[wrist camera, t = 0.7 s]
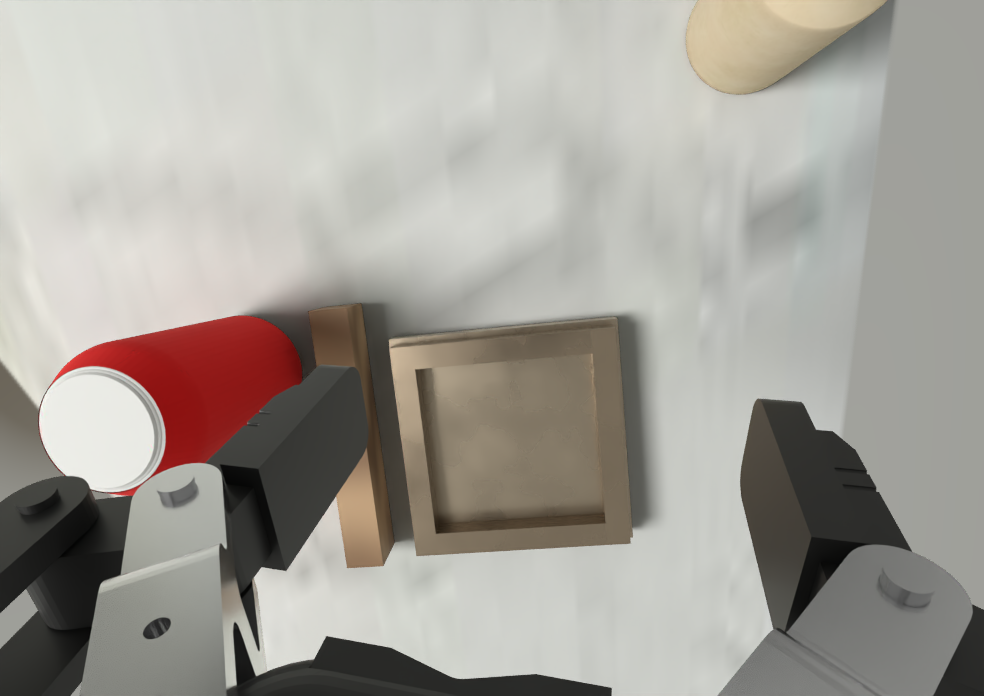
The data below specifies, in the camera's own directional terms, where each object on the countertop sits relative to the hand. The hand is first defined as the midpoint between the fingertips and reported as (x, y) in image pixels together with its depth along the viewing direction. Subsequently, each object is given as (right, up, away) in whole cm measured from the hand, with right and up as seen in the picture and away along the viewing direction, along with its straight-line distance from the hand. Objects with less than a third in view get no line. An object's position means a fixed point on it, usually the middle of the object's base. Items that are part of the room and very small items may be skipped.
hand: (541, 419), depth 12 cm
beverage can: (-14, 0, +21) cm, 25 cm away
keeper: (0, -3, +20) cm, 20 cm away
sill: (-8, -3, +21) cm, 23 cm away
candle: (+11, +17, +16) cm, 26 cm away
